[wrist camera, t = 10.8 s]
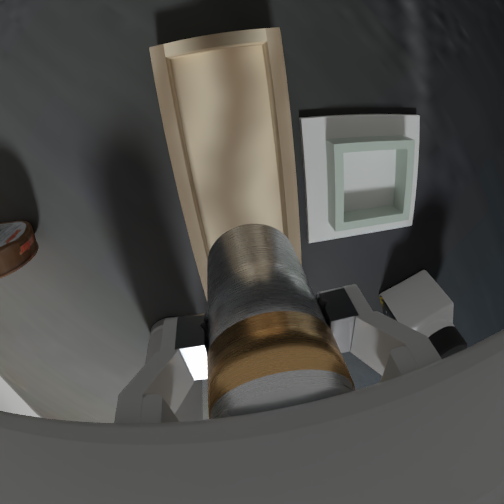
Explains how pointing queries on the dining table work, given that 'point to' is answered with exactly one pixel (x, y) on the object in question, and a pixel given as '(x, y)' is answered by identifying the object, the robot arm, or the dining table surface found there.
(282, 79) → the trough
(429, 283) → the medicine bottle
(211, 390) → the cell
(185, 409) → the travel mug
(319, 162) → the checker cradle
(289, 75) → the dining table surface
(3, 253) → the tin
